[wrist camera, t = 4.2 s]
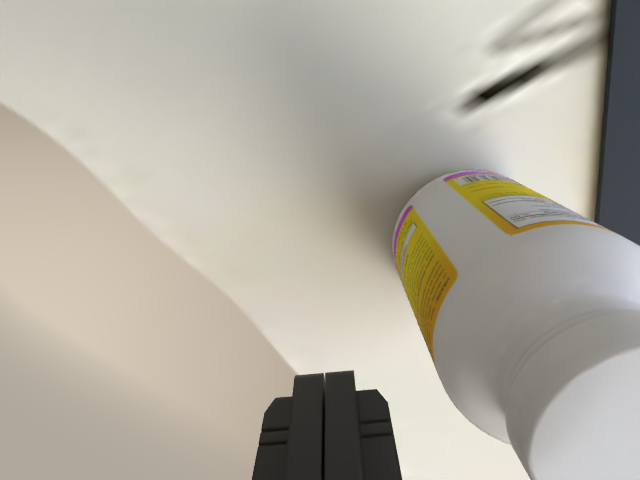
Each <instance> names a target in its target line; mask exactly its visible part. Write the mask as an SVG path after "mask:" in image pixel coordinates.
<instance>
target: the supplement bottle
mask: <svg viewBox="0 0 640 480" xmlns="http://www.w3.org/2000/svg"><path fill="white" fill-rule="evenodd" d="M392 246H393V257H394V262H395V266H396V269H397V271H398V274H399V277H400V280H401V282H402V285H403V287H404V290H405V292H406V295H407V297H408V300H409V302H410V305H411V308H412V309H413V312H414V315H415V317H416V320H417V322H418V325H419V327H420V330H421V332H422V335H423V337H424V340H425V342H426V345H427V347H428V350H429V352H430V355H431V357H432V360H433V362H434V365H435V368H436V370H437V373H438V375H439V378H440V380H441V382H442V384H443V387H444V389H445V391H446V393H447V394H448V396H449V398H450V399H451V401H452V402H453V404H454V405H455V406H456V408H457V409H458V410H459V411H460V412H461V413H462V414H463V415H464V416H465V417H466V418H467V419H468V420H469V421H470V422H471V423H472V424H474V425H475V426H476V427H477V428H479V429H480V430H482V431H483V432H485V433H487V434H488V435H490V436H492V437H494V438H496V439H498V440H500V441H502V442H505V443H508V444H511V445H512V447H513V449H514V450H515V452H516V454H517V456H518V458H519V459H520V461H521V463H522V465H523V466H524V468H525V470H526V472H527V474H528V475H529V477H530V479H531V480H640V246H639V245H637V244H635V243H634V242H632V241H630V240H628V239H626V238H625V237H623V236H621V235H619V234H617V233H615V232H613V231H611V230H609V229H607V228H605V227H603V226H601V225H599V224H597V223H595V222H593V221H591V220H589V219H587V218H585V217H583V216H581V215H579V214H577V213H575V212H573V211H572V210H570V209H568V208H566V207H564V206H562V205H560V204H558V203H556V202H554V201H552V200H551V199H549V198H547V197H545V196H543V195H541V194H539V193H537V192H535V191H533V190H531V189H529V188H527V187H525V186H523V185H521V184H520V183H518V182H516V181H514V180H512V179H509V178H507V177H504V176H502V175H499V174H496V173H493V172H488V171H482V170H463V171H457V172H452V173H449V174H446V175H443V176H441V177H438V178H436V179H434V180H433V181H431V182H429V183H428V184H426V185H425V186H423V187H422V188H421V189H420V190H418V191H417V192H416V193H415V194H414V195H413V196H412V197H411V198H410V200H409V201H408V202H407V204H406V205H405V207H404V208H403V210H402V211H401V213H400V215H399V218H398V220H397V222H396V225H395V229H394V233H393V245H392Z"/></svg>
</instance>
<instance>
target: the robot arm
mask: <svg viewBox="0 0 640 480" xmlns="http://www.w3.org/2000/svg"><path fill="white" fill-rule="evenodd" d="M252 480H402V476H401V471H400V466H399V460H398V455H397V450H396V444H395V439H394V434H393V428H392V423H391V418H390V412H389V407H388V402H387V401H386V400H385V399H384V397H383V396H382V395H381V394H380V393H379V392H378V390H377V389H374V390H362V391H356V388H355V379H354V370H353V371H341V372H329V373H325V378H324V373H319V374H308V375H296V376H295V378H294V387H293V396H292V397H280V398H275V399H274V401H273V402H272V403H271V405H270V406H269V407H268V409H267V410H266V412H265V413H264V418H263V424H262V433H261V435H260V440H259V447H258V450H257V455H256V460H255V466H254V471H253V476H252Z"/></svg>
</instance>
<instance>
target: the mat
mask: <svg viewBox="0 0 640 480" xmlns="http://www.w3.org/2000/svg"><path fill="white" fill-rule="evenodd" d="M595 223H597V224H599V225H601V226H603V227H605V228H607V229H609V230H611V231H613V232H615V233H617V234H619V235H621V236H623V237H625V238H626V239H628V240H630V241H632V242H634V243H635V244H637V245H639V246H640V0H613V1H612V14H611V27H610V40H609V52H608V65H607V78H606V91H605V103H604V116H603V129H602V142H601V154H600V167H599V180H598V193H597V205H596V218H595Z"/></svg>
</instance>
